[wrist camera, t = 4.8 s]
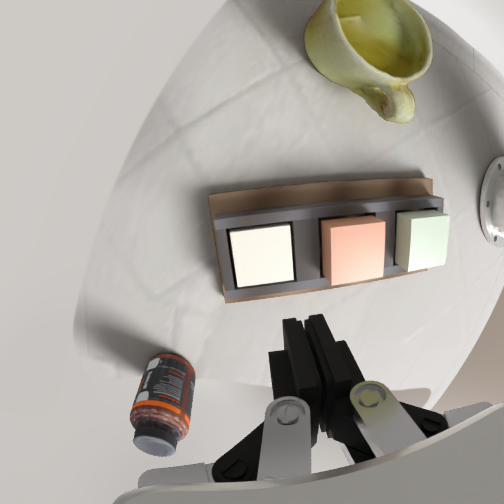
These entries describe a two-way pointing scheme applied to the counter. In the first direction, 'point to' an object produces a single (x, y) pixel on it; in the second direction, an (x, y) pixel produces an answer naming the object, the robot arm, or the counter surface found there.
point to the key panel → (314, 196)
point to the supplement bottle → (163, 405)
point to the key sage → (421, 239)
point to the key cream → (262, 253)
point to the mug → (371, 51)
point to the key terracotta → (353, 249)
